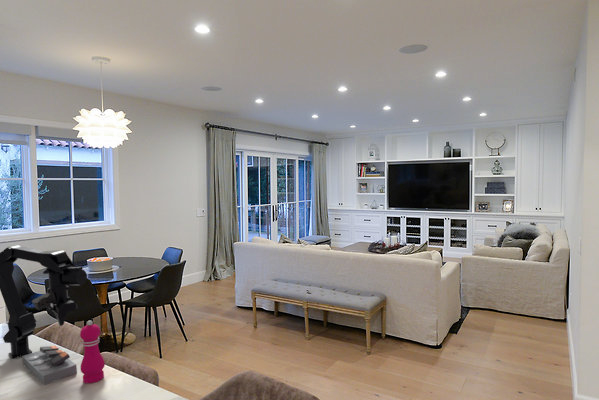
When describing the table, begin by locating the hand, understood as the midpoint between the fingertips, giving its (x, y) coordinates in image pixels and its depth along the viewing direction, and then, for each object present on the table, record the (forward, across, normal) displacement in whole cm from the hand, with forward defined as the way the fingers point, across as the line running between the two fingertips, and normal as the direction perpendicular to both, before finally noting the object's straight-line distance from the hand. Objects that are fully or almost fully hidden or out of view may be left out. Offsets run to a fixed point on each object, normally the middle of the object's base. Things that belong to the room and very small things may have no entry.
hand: (61, 325), depth 152 cm
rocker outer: (+8, +13, -5) cm, 16 cm away
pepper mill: (+12, +28, 0) cm, 31 cm away
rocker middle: (+8, +7, -5) cm, 12 cm away
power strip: (+12, +7, -7) cm, 16 cm away
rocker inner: (+8, +1, -5) cm, 9 cm away
